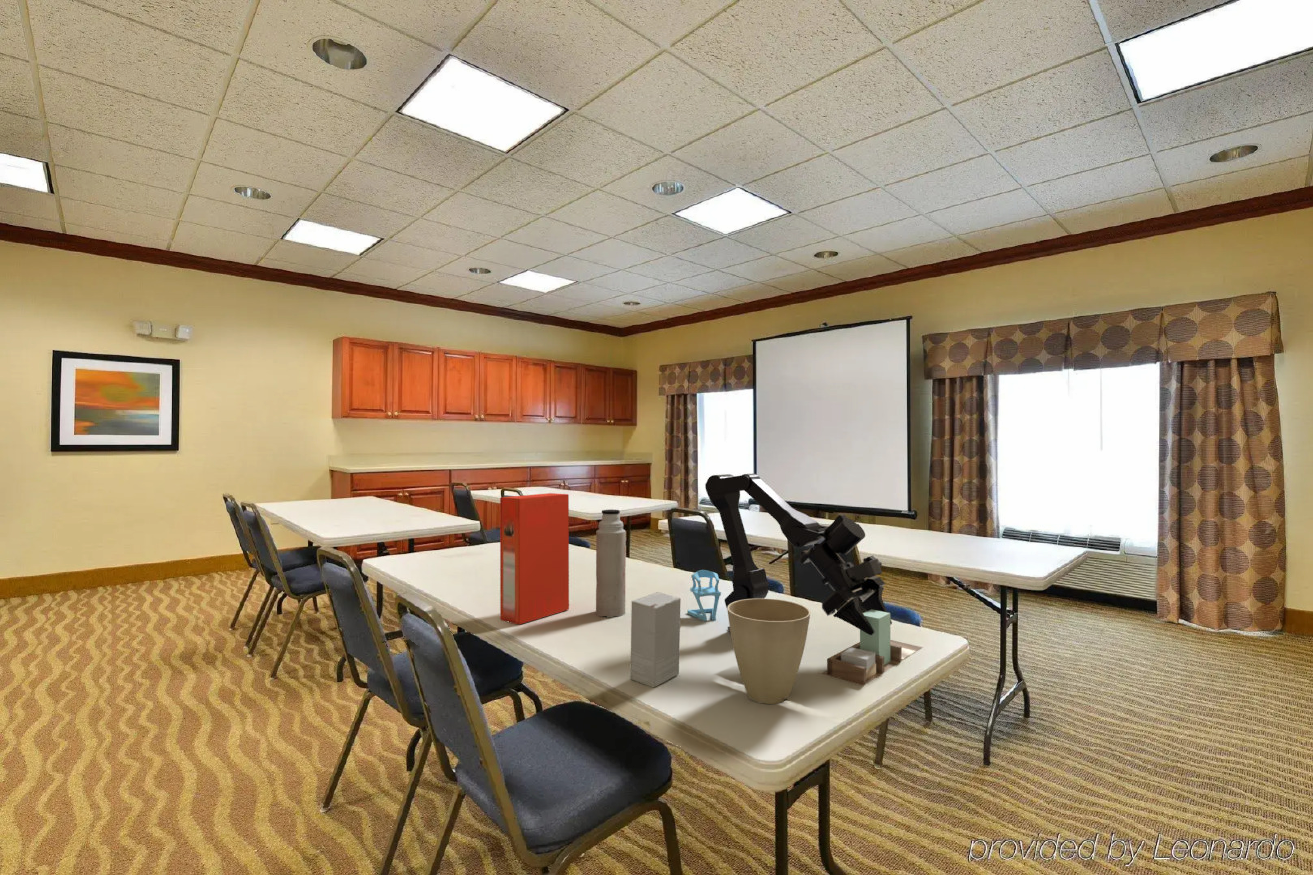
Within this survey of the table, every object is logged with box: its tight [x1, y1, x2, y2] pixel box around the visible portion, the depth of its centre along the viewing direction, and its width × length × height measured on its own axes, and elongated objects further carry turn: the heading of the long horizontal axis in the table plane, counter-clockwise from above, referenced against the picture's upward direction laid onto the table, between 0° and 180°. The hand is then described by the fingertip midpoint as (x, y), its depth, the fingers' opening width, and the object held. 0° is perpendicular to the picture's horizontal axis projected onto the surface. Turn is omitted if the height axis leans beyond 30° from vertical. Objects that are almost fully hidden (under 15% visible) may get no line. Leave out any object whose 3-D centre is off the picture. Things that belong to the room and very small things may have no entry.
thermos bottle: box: [595, 509, 627, 618], centre depth 164 cm, size 8×8×28 cm
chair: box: [687, 569, 722, 622], centre depth 161 cm, size 8×8×12 cm
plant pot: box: [726, 598, 811, 705], centre depth 110 cm, size 15×15×16 cm
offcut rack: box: [821, 639, 924, 686], centre depth 126 cm, size 30×8×4 cm, turn 136°
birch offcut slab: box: [866, 663, 876, 680], centre depth 118 cm, size 5×5×2 cm
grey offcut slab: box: [841, 646, 875, 670], centre depth 118 cm, size 5×5×2 cm
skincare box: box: [629, 591, 682, 688], centre depth 118 cm, size 8×7×16 cm
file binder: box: [499, 492, 570, 625], centre depth 162 cm, size 8×17×32 cm, turn 143°
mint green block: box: [859, 610, 891, 665], centre depth 125 cm, size 6×4×10 cm
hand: (881, 629), depth 124 cm, fingers open, 8 cm apart
